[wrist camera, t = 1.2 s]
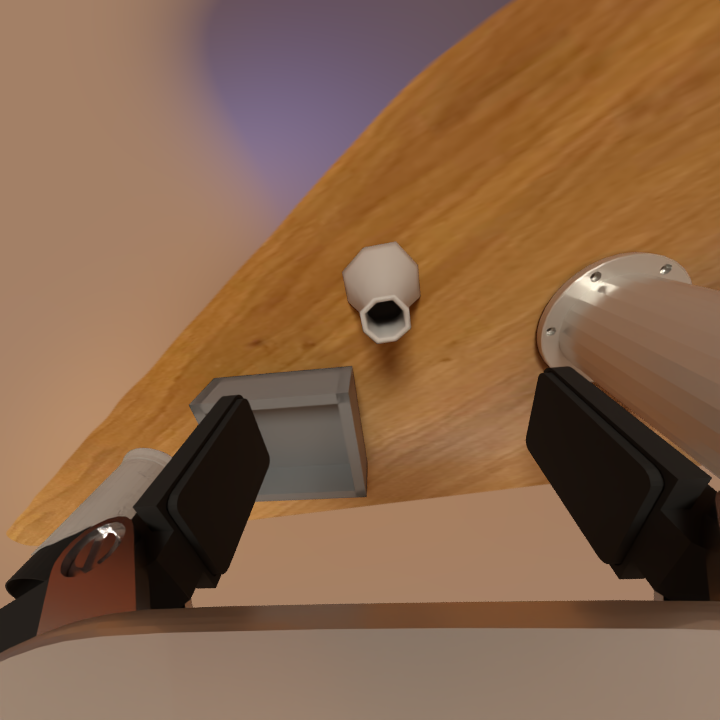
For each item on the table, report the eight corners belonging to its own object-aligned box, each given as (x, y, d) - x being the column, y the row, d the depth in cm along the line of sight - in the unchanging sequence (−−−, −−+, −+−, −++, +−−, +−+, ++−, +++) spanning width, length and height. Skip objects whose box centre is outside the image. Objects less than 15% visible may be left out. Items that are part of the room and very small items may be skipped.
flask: (365, 331, 29) (362, 385, 20) (329, 267, 26) (305, 297, 17) (432, 299, 27) (461, 343, 18) (400, 225, 24) (416, 235, 15)
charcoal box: (352, 366, 31) (348, 392, 26) (367, 463, 38) (366, 496, 33) (214, 378, 32) (188, 405, 28) (253, 469, 39) (238, 502, 35)
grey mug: (144, 438, 37) (18, 564, 24) (228, 495, 42) (162, 626, 29) (112, 465, 40) (-17, 591, 27) (194, 516, 45) (119, 643, 32)
